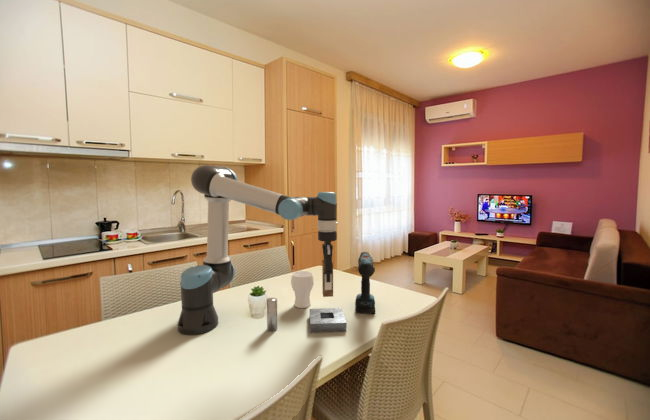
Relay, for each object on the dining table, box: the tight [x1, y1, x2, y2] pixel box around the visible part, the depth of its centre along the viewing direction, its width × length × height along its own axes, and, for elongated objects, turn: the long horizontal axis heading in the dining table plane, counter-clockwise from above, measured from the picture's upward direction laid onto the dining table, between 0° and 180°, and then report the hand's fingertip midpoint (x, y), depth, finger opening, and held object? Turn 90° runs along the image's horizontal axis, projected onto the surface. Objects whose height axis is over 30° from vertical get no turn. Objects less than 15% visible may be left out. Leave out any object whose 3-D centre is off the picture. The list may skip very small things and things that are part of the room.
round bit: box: [266, 297, 278, 332], centre depth 117 cm, size 4×4×12 cm
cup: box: [290, 270, 315, 309], centre depth 141 cm, size 11×11×15 cm
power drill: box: [355, 251, 376, 315], centre depth 137 cm, size 9×23×25 cm, turn 174°
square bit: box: [321, 259, 334, 298], centre depth 120 cm, size 4×4×14 cm
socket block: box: [309, 307, 348, 334], centre depth 122 cm, size 14×14×4 cm
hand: (327, 287), depth 121 cm, fingers closed on square bit, 4 cm apart
